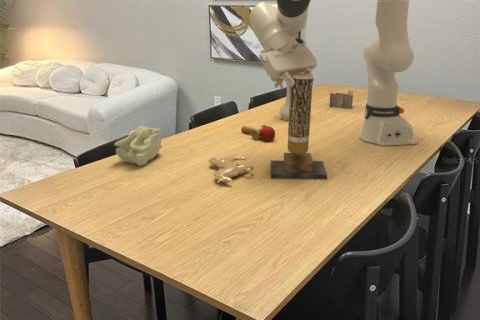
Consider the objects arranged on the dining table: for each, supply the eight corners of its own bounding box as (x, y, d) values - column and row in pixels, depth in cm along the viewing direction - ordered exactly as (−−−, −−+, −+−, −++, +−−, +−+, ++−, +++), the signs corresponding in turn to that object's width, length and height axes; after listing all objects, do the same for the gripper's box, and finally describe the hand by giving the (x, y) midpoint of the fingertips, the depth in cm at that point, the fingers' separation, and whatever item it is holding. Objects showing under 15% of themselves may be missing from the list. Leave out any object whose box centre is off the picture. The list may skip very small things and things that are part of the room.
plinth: (322, 165, 144) (323, 151, 143) (326, 179, 133) (327, 164, 131) (270, 164, 146) (270, 151, 144) (270, 178, 134) (271, 163, 133)
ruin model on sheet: (351, 108, 218) (353, 90, 215) (350, 110, 216) (352, 91, 212) (330, 106, 223) (332, 88, 220) (329, 107, 221) (330, 89, 217)
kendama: (236, 137, 178) (265, 142, 165) (236, 123, 177) (266, 126, 164) (249, 137, 183) (279, 141, 170) (250, 122, 182) (279, 125, 169)
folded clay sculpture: (142, 183, 148) (129, 154, 136) (119, 166, 154) (105, 137, 142) (177, 152, 156) (169, 123, 145) (154, 137, 162) (144, 108, 151)
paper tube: (309, 148, 139) (314, 73, 130) (306, 155, 133) (311, 77, 124) (289, 146, 141) (293, 72, 132) (285, 153, 135) (288, 76, 126)
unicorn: (232, 159, 151) (189, 168, 142) (232, 148, 149) (189, 157, 141) (264, 178, 135) (218, 190, 127) (264, 167, 134) (218, 178, 125)
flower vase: (267, 121, 196) (267, 68, 187) (287, 113, 209) (288, 62, 200) (291, 126, 188) (293, 70, 179) (310, 117, 202) (312, 65, 193)
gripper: (262, 44, 123) (285, 81, 119) (307, 39, 135) (329, 73, 132) (251, 57, 128) (274, 94, 124) (296, 51, 140) (317, 84, 137)
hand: (302, 83), depth 128 cm, fingers closed on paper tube, 7 cm apart
